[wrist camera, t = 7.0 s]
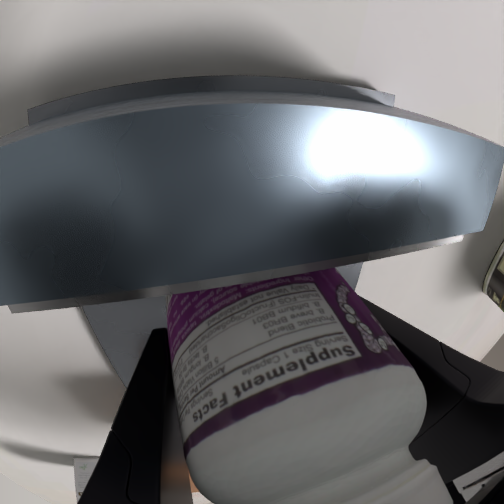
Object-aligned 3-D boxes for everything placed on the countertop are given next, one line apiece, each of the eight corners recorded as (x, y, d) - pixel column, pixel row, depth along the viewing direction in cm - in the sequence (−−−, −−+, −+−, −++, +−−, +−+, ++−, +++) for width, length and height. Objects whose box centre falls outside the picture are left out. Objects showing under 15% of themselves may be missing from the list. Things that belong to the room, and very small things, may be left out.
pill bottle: (319, 283, 12) (447, 486, 4) (208, 338, 12) (276, 561, 4) (282, 171, 9) (541, 470, 1) (132, 247, 9) (166, 612, 1)
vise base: (305, 399, 23) (333, 459, 18) (161, 429, 20) (173, 497, 15) (379, 91, 10) (515, 134, 5) (39, 106, 7) (-92, 162, 1)
